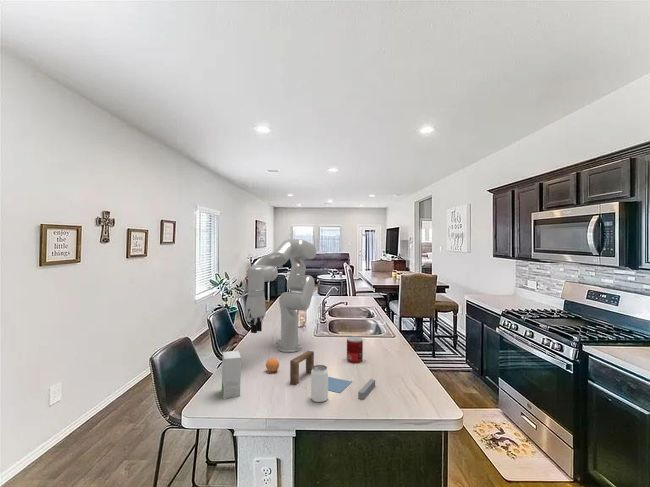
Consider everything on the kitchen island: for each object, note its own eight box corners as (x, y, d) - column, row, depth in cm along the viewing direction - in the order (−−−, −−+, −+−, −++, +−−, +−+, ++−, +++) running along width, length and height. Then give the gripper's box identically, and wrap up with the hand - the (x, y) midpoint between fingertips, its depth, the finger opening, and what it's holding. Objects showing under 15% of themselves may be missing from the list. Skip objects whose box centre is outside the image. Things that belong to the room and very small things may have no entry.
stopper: (358, 398, 130) (358, 392, 130) (370, 384, 143) (370, 378, 143) (363, 399, 130) (363, 393, 130) (375, 385, 142) (375, 379, 142)
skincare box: (221, 390, 137) (221, 351, 137) (238, 387, 140) (238, 349, 140) (223, 399, 130) (223, 358, 129) (241, 396, 132) (241, 356, 132)
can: (310, 395, 133) (310, 364, 133) (327, 394, 134) (327, 364, 134) (311, 403, 127) (311, 370, 127) (328, 402, 127) (328, 370, 127)
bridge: (290, 383, 144) (290, 360, 144) (308, 371, 157) (308, 350, 157) (296, 384, 143) (296, 361, 143) (313, 372, 156) (313, 351, 156)
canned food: (361, 363, 168) (361, 341, 167) (345, 362, 169) (345, 340, 169) (363, 358, 175) (363, 337, 175) (347, 357, 177) (347, 336, 177)
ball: (263, 372, 156) (263, 359, 156) (271, 368, 161) (271, 355, 161) (274, 374, 153) (274, 361, 153) (281, 370, 159) (281, 357, 159)
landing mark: (313, 387, 141) (313, 386, 141) (326, 376, 151) (326, 376, 151) (340, 393, 135) (340, 392, 135) (351, 382, 146) (351, 381, 146)
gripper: (260, 290, 170) (260, 327, 170) (238, 294, 156) (238, 335, 156) (272, 291, 167) (272, 329, 167) (251, 296, 152) (251, 337, 153)
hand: (256, 331), depth 161 cm, fingers open, 2 cm apart
